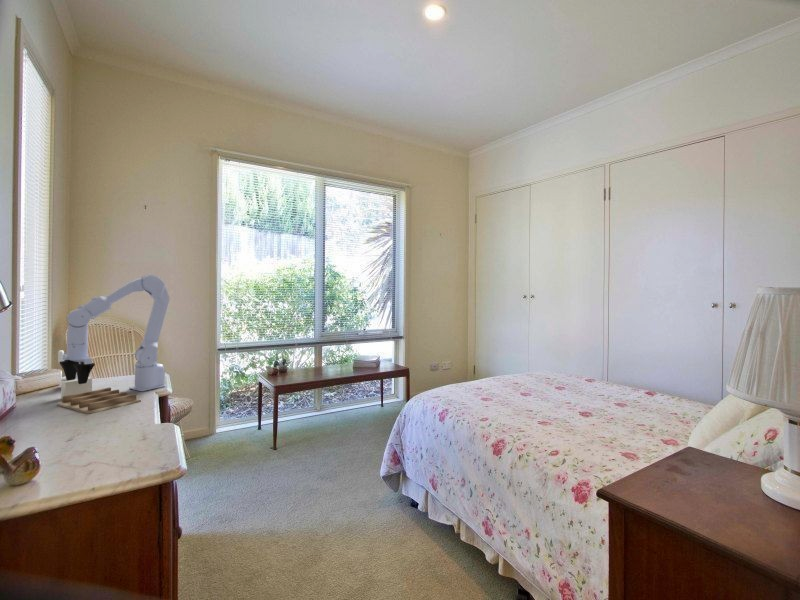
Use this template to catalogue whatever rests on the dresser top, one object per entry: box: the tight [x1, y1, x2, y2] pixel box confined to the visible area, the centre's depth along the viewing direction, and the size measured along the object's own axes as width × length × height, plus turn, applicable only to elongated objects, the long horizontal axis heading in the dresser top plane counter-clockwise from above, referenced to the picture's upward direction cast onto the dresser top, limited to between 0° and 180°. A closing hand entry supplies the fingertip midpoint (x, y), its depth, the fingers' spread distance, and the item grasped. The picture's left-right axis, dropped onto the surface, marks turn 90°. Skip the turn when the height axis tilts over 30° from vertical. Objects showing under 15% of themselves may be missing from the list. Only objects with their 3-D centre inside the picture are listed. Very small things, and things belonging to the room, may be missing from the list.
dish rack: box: [56, 387, 142, 415], centre depth 130 cm, size 16×18×3 cm
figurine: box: [57, 349, 80, 382], centre depth 148 cm, size 7×9×15 cm
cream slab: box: [60, 376, 93, 400], centre depth 136 cm, size 8×2×6 cm, turn 155°
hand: (76, 382), depth 136 cm, fingers open, 7 cm apart
